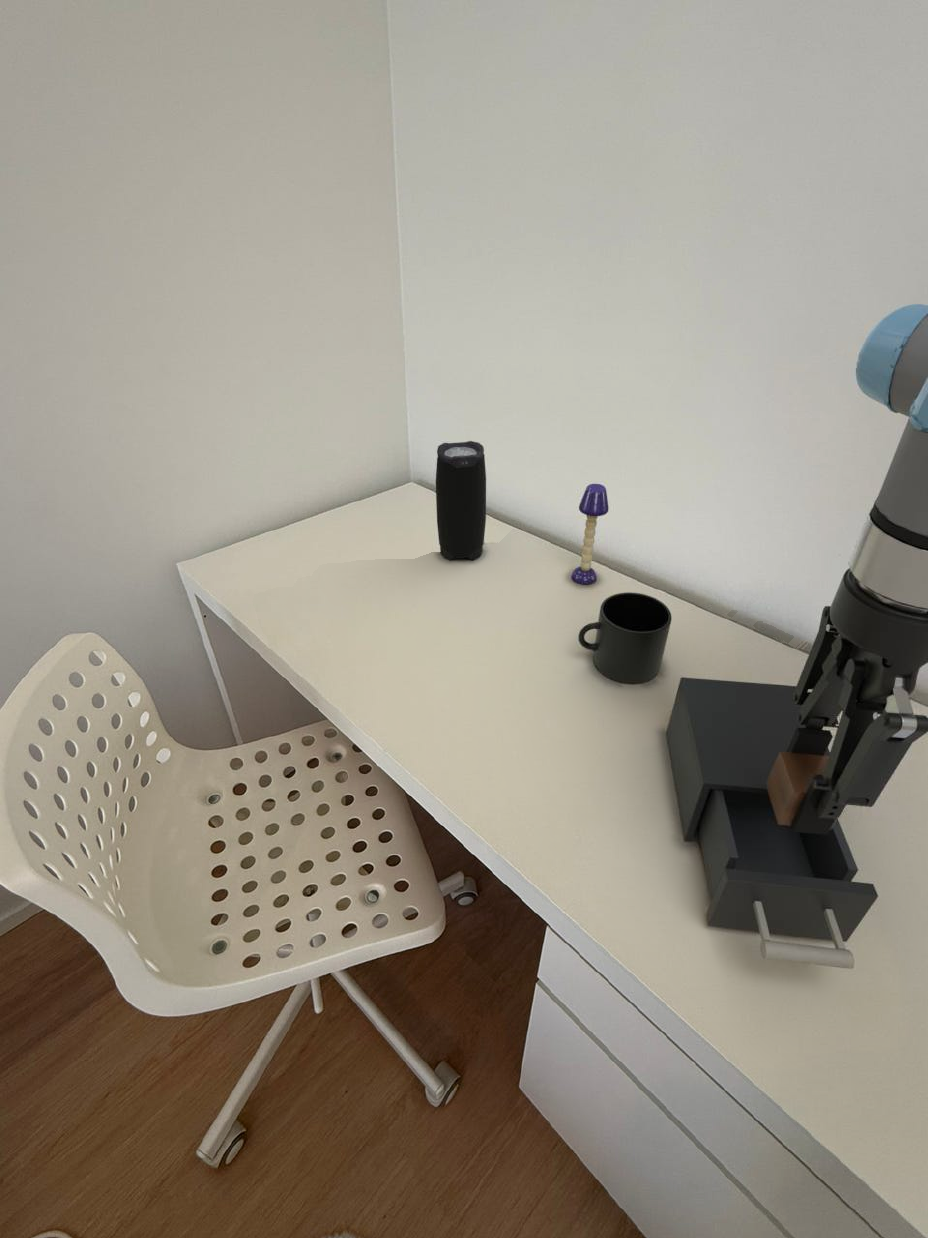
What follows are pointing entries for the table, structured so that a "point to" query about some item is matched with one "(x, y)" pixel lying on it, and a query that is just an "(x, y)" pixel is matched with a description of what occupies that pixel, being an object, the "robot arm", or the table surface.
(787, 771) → the block
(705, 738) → the cabinet
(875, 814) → the table surface
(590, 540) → the toy lamp
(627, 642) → the mug
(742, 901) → the drawer
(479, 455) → the portable speaker
